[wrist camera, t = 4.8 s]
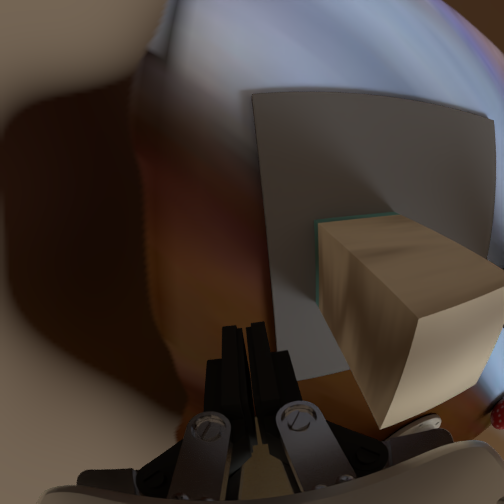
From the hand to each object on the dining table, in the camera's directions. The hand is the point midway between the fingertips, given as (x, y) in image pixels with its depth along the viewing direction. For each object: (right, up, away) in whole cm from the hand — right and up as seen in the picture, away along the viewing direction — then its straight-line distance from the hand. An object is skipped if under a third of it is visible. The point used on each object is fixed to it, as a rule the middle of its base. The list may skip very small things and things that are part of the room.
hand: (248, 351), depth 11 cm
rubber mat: (+12, +5, +8) cm, 15 cm away
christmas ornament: (+62, -34, +27) cm, 76 cm away
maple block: (+7, +4, +7) cm, 11 cm away
